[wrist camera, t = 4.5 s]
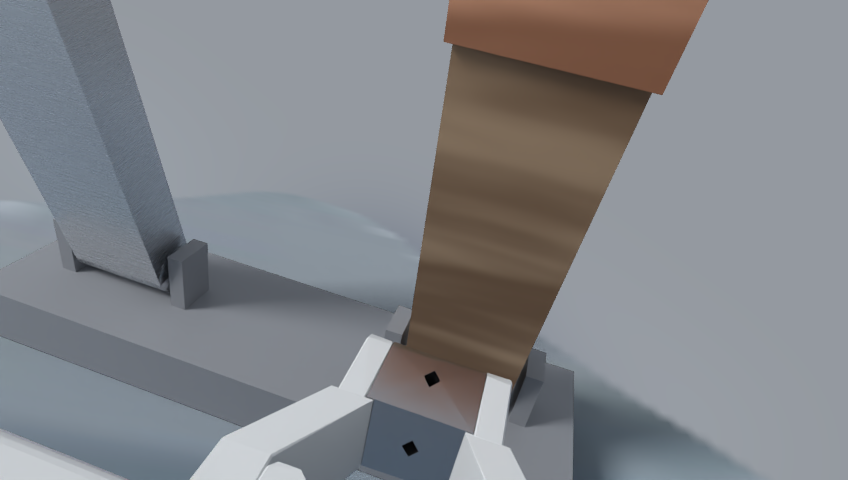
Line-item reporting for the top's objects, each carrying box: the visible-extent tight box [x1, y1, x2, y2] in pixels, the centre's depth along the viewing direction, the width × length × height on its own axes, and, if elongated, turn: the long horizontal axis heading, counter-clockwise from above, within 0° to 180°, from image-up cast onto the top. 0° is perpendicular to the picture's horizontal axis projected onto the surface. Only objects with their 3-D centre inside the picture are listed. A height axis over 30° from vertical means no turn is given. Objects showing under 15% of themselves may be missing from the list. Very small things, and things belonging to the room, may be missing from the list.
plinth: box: [0, 219, 574, 480], centre depth 26 cm, size 8×30×6 cm, turn 75°
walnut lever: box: [406, 0, 708, 392], centre depth 18 cm, size 3×5×19 cm, turn 74°
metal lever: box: [0, 0, 187, 292], centre depth 21 cm, size 3×5×19 cm, turn 74°
